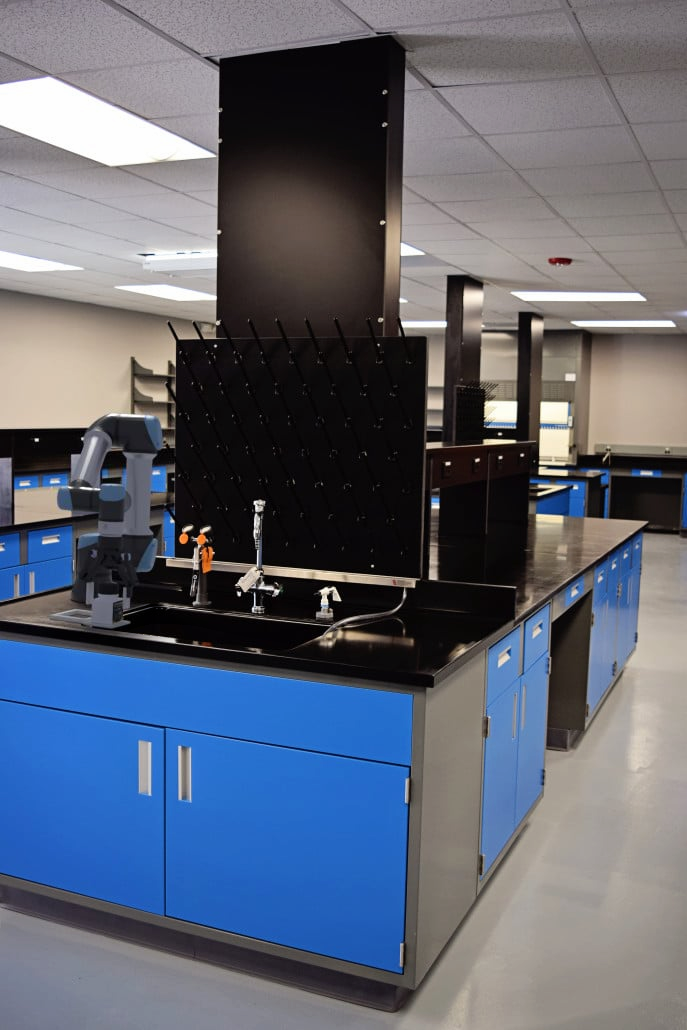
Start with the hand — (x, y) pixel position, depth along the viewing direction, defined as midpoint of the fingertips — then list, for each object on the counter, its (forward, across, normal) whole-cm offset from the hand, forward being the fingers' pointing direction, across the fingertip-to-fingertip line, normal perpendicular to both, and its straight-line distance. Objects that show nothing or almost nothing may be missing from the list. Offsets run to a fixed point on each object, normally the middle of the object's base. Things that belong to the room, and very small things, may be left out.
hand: (107, 606), depth 285 cm
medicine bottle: (+5, 0, 0) cm, 5 cm away
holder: (+5, -12, +3) cm, 13 cm away
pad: (+5, 0, 0) cm, 5 cm away
